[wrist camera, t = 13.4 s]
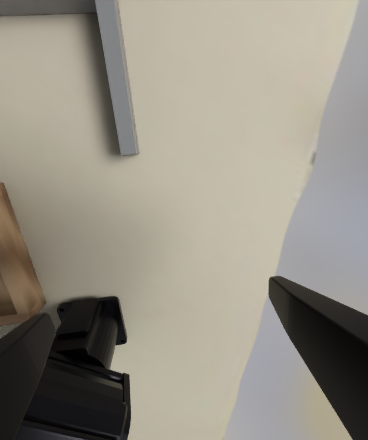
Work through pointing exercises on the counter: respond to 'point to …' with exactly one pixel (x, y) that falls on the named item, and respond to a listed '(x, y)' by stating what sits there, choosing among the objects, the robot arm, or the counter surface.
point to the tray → (15, 270)
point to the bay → (113, 52)
